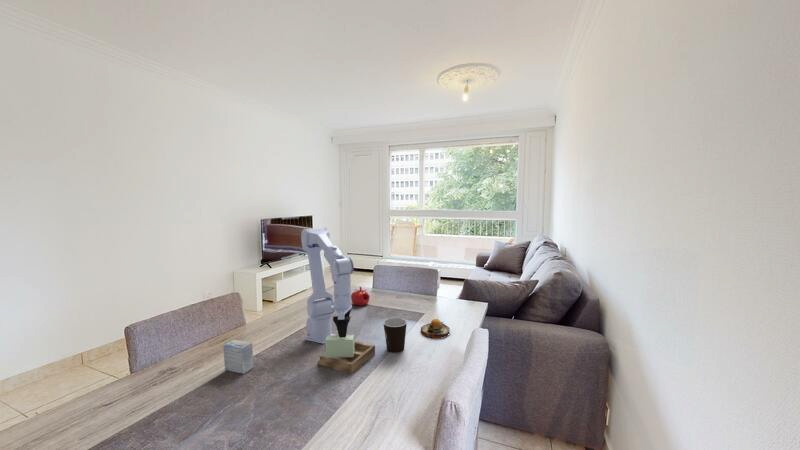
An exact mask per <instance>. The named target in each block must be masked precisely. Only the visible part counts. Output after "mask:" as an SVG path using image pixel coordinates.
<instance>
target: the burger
mask: <svg viewBox="0 0 800 450" xmlns="http://www.w3.org/2000/svg"><path fill="white" fill-rule="evenodd" d="M450 330H451V329H450V327H449V326H448V325H447V324H445V323H444V322H443V321H441V320H440V319H439V318H433V319H432V320H431V322H430V323H426V324H424V325H422V326H421V327H420V333H421V334H422V335H423V336H424V337H427V338H428V337H429V338H430V337H431V338H432V339H442V338H441V337H444V336H447V335H448V334H449V332H451V331H450ZM449 335H450V334H449ZM449 335H448V336H449ZM448 336H447V337H448ZM444 338H445V337H444Z"/></svg>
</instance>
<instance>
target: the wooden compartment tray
mask: <svg viewBox="0 0 800 450" xmlns="http://www.w3.org/2000/svg"><path fill="white" fill-rule="evenodd" d="M354 345H355V353H354V356H353V357H341V358H326V355H323V354H321V355H319V359H318V361H317V365H320V366H323V367H326V368H330V369H333V370H337V371H340V372H344V373H347V374H350V375H352V374H354V373H355V372H356V371H357V370H359V369H360V368H361V367H362V366H363V365H364V364H365V363H366V362H368V361H369V360H370V359H371V358H372V357H373V356H374V355H375V354H376V345H374V344H368V343H364V342H360V341H356V340H354Z"/></svg>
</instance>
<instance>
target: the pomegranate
mask: <svg viewBox="0 0 800 450" xmlns="http://www.w3.org/2000/svg"><path fill="white" fill-rule="evenodd" d="M369 301H370V294H369V293H368V289H363V288H362V286H359V289H357V288H355V289H354V290H353V292H351V304H353V305H355V306H358V307H359V306H366V305H368V303H369Z"/></svg>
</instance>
